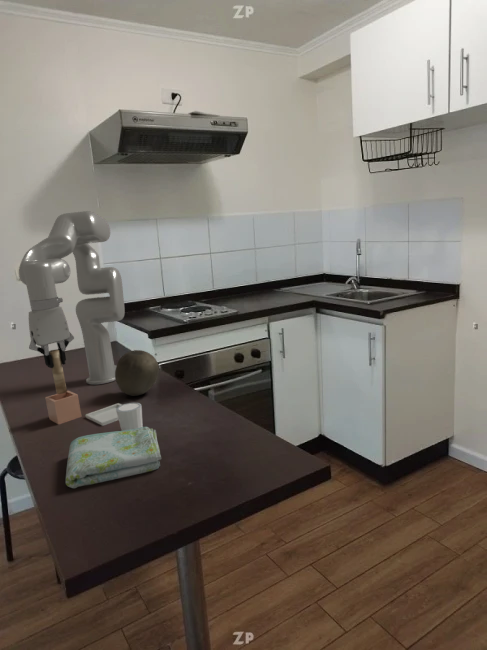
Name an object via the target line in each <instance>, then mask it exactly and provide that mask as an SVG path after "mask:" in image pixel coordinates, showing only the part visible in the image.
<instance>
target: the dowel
mask: <svg viewBox="0 0 487 650" xmlns="http://www.w3.org/2000/svg"><path fill="white" fill-rule="evenodd" d="M49 353H50V355H51V356H52V361H53V366H54V367H53V368H51V373H52V376H53V382H54V386H55V394H63V393H66V392H67V391H68V388H67V385H66V378H65V373H64V368H63V364H62V362H61V357H60V352H59V350H58V348H57V349H51V350H49Z"/></svg>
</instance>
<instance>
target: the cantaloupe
mask: <svg viewBox="0 0 487 650" xmlns="http://www.w3.org/2000/svg"><path fill="white" fill-rule="evenodd" d="M116 366H117V367H116V370H115V378H116V380H115V381H116V384H117V386H118V388H119V390H120V391H121V392H123V393H124V394H125V395H127V396H131V397H138V396H141V395H143V394H145V393H147V392H148V391H150V389H152V387H153V386H154V384H156V382H157V379H158V376H159V373H160V367H159V363H158V361H157V359H156V358H155V356H154V355H153V354H152V353H150V352H148V351H145V350H141V349H140V350H139V349H134V350H131V351H128V352H125V353H124V354H123V355H122V356H121V357H120V358H119V360H118V361H117V364H116Z"/></svg>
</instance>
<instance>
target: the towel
mask: <svg viewBox="0 0 487 650" xmlns="http://www.w3.org/2000/svg"><path fill="white" fill-rule="evenodd" d="M157 436H158V435H157V430H156V429H153V427H152V428H150V427H148V426H143V427H141V428H137V429H131V430H124V431H121V430H116V431H109V432H100V433H99V432H98V433H93V434H87V435H82V436H79V437H77V438H75V439H73V440H72V441H71V442H70V445H69V449H68V450H69V451H68V457H67V462H66V463H67V464H66V473H65V485H66V486H67V487H69V488H71V489H77V488H79V487H83V486H90V485H94V484H95V485H96V484H99V483H103V482H104V483H105V482H108V481H113V480H117V479H122V478H127V477H130V476H135V475H139V474H144V473H149V472H153V471H155V470H158V469H160V468H159V467H161V462H160V460H162V455H161V450H160V446H159V443H158V438H157Z"/></svg>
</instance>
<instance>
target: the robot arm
mask: <svg viewBox="0 0 487 650" xmlns="http://www.w3.org/2000/svg"><path fill="white" fill-rule="evenodd" d="M110 237H111V228H110V225H109V223H108V221H107V220H106V219H105V218H104V217H102V216H101V215H99V214H97V213H96V212H94V211H90V210H89V211H88V210H85V211H84V210H82V211H76V212H75V211H74V212H67V213H66V212H65V213H61V214H60V215H59V216H58V217H56V218H55V221H54V223H53V225H52V227H51V230H50V233H49V234H48V237H46V238H44V239H42V240H41V241H40V242H38V243H37V244H35V245H33V246H32V247H30V248H29V249H28V250H27V251H26V252H25V254H24V255H23V257H22V259H21V261H20V264H19V267H18V268H19V269H18V276H19V279H20V281H21V282H22V283H23V284H24V285H25V286H26V291H27V294H28V295H27V296H28V299H29V306H30V309H31V311H29V312H28V328H29V337H30V343H29V345H28V349H29V350H31V351H36V352H38V353H40V354H42V355H43V359H44V364H45V366H46V367H48V368H50V369H52V368H53V367H54V366H53V361H52V356H51V355H50V353H49V351H50V348H49V345H51V344H55V343H56V345H57V349H58V350H59V352H60V357H61V362H62V366H63V365H66V361H67V357H66V352H65V351H66V350H67V347H68V345H70V343H71V342H72V341H73V340H75V336H74V335H73V334H72V333H71V331H70V329H69V325H68V322H67V321H68V320H67V318H66V316H65V313H64V310H63V307H62V306H60V304H61V303H63V301H64V300H63V297H59V296H58V293H57V288H56V285H57V284H63V283H65V282H66V281H67V280H69V278H70V277H71V267H70V265H69V263H68V261H66V260H64V258H66V257H68V256H69V255H71V254H72V255H73V256H74V260H75V269H76V281H77V286H78V291H79V292H80V293H81V294H82V295H100V294H101V295H102V294H108V295H109V296H100V297H99V296H98V297H89V298H88V297H87V298H84V299H81V300H80V301H78V302H77V303H76V306H75V314H76V317H77V320H78V323H79V326H80V329H81V330H80V331H81V335H82V340H83V345H84V351H85V356H86V362H87V369H88V373H89V377H87V378H86V379H85V381H86V384H88V385H93V386H94V385H103V384H108V383H111V382H114V381H116V378H115V370H116V367H117V364H115V362H114V356H113V349H112V344H111V337H110V331H108V329H107V328H106V327H105V325H103V323H111V322H119V321H121V320H123V319H124V317H125V311H126V310H125V309H126V308H125V300H124V298H125V297H124V288H123V280H122V276H121V273H120V271H119V270H118V269H117V268H116V267H114V266H110V267H108V266H107V267H101V264H100V256H99V254H98V252H97V250H96V249H94V248H93V247H92V246H91V245H90V244H95V243H97V244H98V243H103V242H107V241H108V240H109V239H110ZM36 345H37V346H36Z"/></svg>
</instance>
